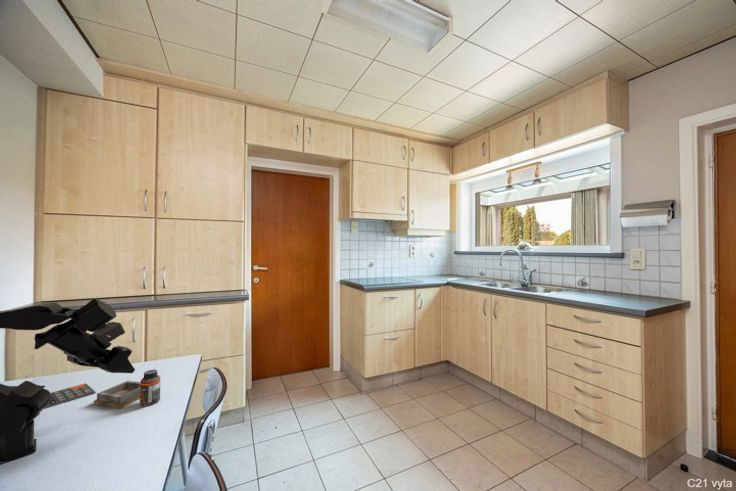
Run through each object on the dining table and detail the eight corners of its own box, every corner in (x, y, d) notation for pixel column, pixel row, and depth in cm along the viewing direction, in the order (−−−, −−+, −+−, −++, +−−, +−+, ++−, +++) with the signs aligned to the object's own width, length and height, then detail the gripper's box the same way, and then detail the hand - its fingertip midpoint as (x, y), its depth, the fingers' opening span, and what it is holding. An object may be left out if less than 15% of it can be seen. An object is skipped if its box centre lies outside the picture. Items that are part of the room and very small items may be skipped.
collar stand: (152, 392, 99) (152, 383, 99) (120, 408, 89) (120, 398, 89) (128, 389, 102) (128, 379, 102) (93, 404, 91) (94, 394, 92)
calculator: (96, 391, 99) (28, 411, 86) (96, 394, 99) (27, 415, 86) (85, 382, 105) (21, 400, 93) (85, 385, 105) (21, 403, 93)
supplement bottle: (136, 404, 92) (136, 372, 92) (154, 397, 96) (155, 367, 97) (145, 408, 90) (145, 376, 90) (163, 400, 94) (163, 370, 94)
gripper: (124, 317, 78) (165, 347, 88) (81, 312, 84) (124, 340, 95) (86, 358, 70) (136, 385, 80) (43, 348, 77) (94, 374, 87)
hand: (123, 369), depth 86 cm, fingers open, 9 cm apart
